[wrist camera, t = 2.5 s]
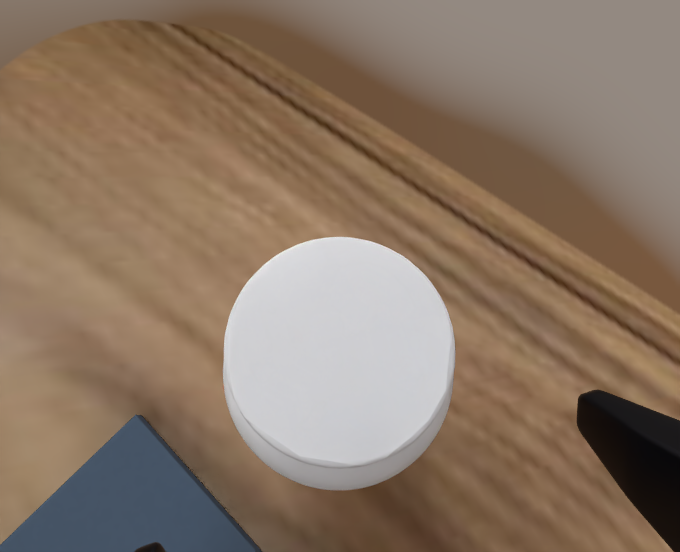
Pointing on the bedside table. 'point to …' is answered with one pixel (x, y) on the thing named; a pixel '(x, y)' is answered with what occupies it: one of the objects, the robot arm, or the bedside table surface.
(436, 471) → the bedside table surface
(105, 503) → the mat
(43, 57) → the bedside table surface
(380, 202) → the bedside table surface
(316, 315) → the pill bottle
